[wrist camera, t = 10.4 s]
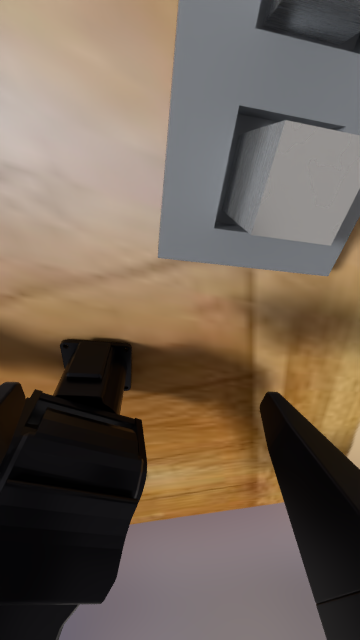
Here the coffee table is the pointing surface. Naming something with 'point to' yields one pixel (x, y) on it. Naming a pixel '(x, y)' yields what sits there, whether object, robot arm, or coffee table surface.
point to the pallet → (245, 127)
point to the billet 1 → (315, 18)
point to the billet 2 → (293, 181)
